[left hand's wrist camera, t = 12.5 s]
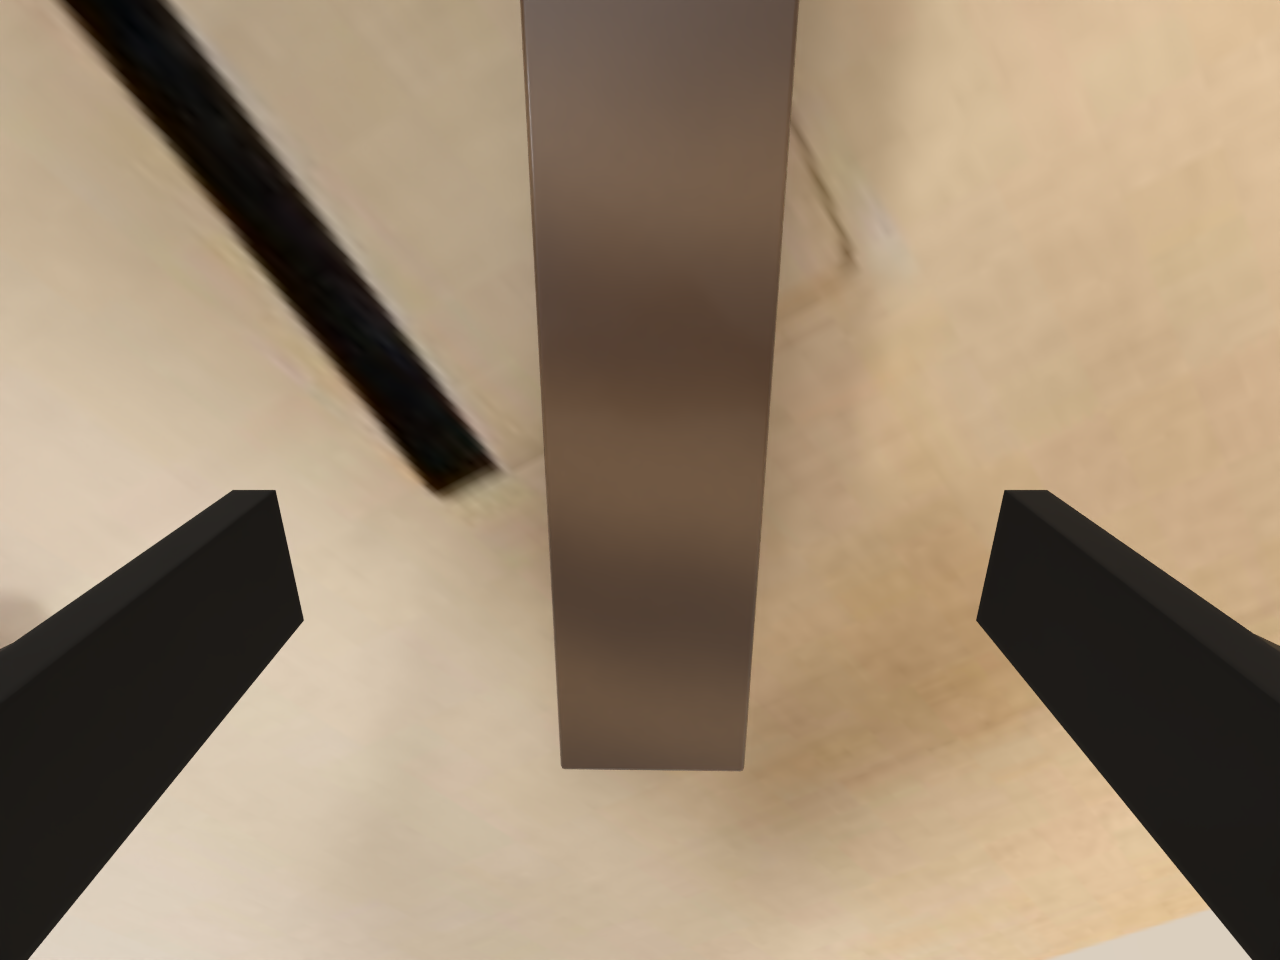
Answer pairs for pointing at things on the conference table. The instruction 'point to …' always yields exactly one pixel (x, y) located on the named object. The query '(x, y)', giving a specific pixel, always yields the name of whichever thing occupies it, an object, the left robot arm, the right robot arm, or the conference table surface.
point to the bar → (656, 358)
